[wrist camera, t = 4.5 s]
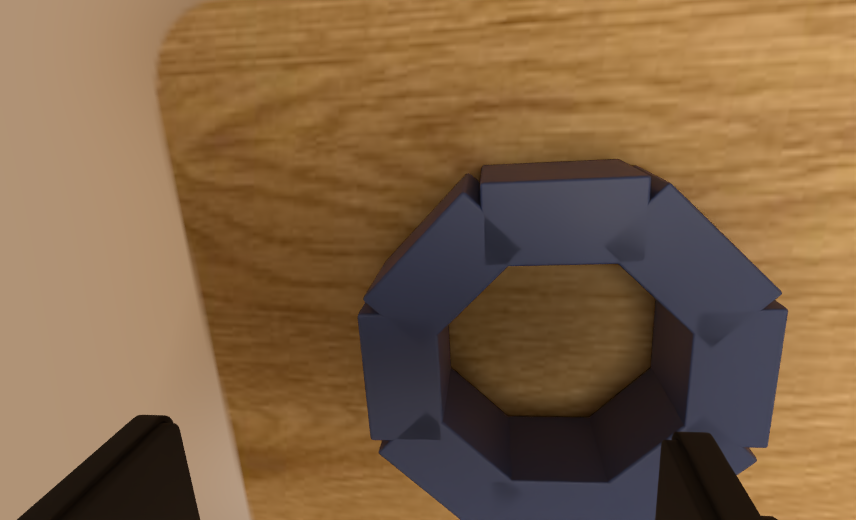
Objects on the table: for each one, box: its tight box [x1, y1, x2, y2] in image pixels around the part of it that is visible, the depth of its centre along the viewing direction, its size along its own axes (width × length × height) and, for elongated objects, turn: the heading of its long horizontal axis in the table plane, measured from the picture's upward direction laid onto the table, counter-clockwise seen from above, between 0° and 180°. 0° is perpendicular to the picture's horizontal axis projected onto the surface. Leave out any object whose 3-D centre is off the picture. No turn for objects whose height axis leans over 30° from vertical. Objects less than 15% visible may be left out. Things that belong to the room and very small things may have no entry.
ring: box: [358, 159, 788, 520], centre depth 15 cm, size 10×10×3 cm
